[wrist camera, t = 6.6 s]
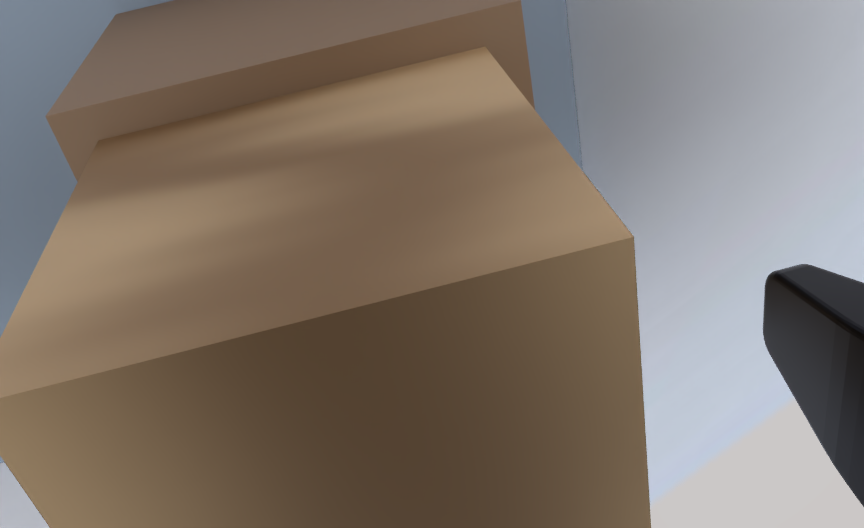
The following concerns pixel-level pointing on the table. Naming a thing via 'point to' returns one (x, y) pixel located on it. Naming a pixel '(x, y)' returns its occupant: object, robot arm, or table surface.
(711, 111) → the table surface
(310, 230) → the oak cube
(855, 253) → the table surface
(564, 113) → the blueprint board
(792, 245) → the table surface
